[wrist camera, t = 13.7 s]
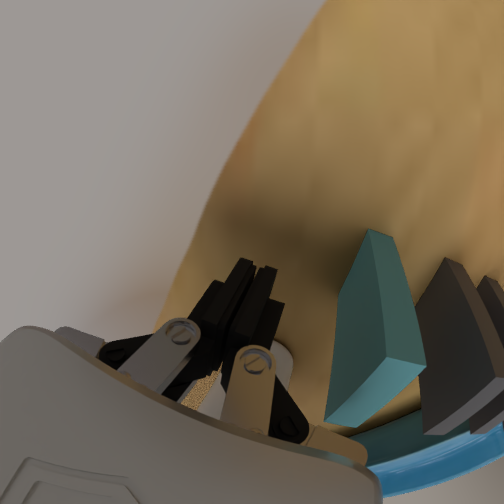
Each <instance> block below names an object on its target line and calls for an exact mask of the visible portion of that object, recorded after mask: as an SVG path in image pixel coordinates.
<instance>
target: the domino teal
mask: <svg viewBox="0 0 504 504" xmlns="http://www.w3.org/2000/svg"><path fill="white" fill-rule="evenodd" d="M426 366H427V365H426V359H425V353H424V348H423V343H422V338H421V333H420V329H419V324H418V320H417V316H416V312H415V308H414V304H413V300H412V296H411V293H410V289H409V286H408V282H407V279H406V276H405V272H404V269H403V266H402V263H401V260H400V257H399V254H398V251H397V248H396V245H395V242H394V240H393V237H390V236H387V235H385V234H382V233H379V232H376V231H374V230H371V229H368V231H367V233H366V235H365V238H364V240H363V242H362V245H361V247H360V249H359V252H358V254H357V256H356V258H355V261H354V263H353V265H352V267H351V269H350V272H349V274H348V276H347V278H346V280H345V282H344V284H343V286H342V288H341V290H340V292H339V294H338V307H337V321H336V333H335V343H334V353H333V361H332V370H331V377H330V385H329V391H328V398H327V404H326V411H325V416H324V422H327V423H332V424H337V425H342V426H348V427H354V428H357V427H358V426H359V425H361V424H362V423H363V422H365V421H366V420H367V419H369V418H370V417H371V416H372V415H374V414H375V413H376V412H377V411H379V410H380V409H381V408H382V407H383V406H385V405H386V404H387V403H388V402H389V401H391V400H392V399H393V398H394V397H395V396H396V395H397V394H398V393H400V392H401V391H402V390H403V389H404V388H405V387H406V386H407V385H408V384H409V383H410V382H411V381H412V380H413V379H414V378H415V377H416V376H417V375H418V374H419V373H420V372H421V371H422V370H423V369H424V368H425V367H426Z"/></svg>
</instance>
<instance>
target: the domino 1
mask: <svg viewBox="0 0 504 504" xmlns="http://www.w3.org/2000/svg"><path fill="white" fill-rule="evenodd" d="M414 308H415V312H416V316H417V320H418V324H419V329H420V333H421V338H422V343H423V348H424V353H425V359H426V365H427V366H426V367H425V368H424V369H423V370H422V371H421V372H420V373H419V374H418V376H419V385H420V395H421V407H422V425H423V434H425V435H445V434H446V433H448V432H449V431H451V430H453V429H454V428H455V427H457V426H458V425H460V424H461V423H463V422H464V421H465V420H467V419H468V418H470V417H471V416H472V415H474V414H475V413H476V412H478V411H479V410H480V409H481V408H483V407H484V406H485V405H486V404H488V403H489V402H490V401H491V400H492V399H494V398H495V397H496V396H497V395H498V394H499V393H500V392H502V391H503V390H504V348H503V346H502V343H501V341H500V338H499V336H498V334H497V331H496V329H495V327H494V324H493V322H492V320H491V318H490V316H489V313H488V311H487V309H486V307H485V305H484V303H483V301H482V299H481V297H480V295H479V294H478V292H477V290H476V288H475V286H474V284H473V282H472V281H471V279H470V277H469V275H468V274H467V272H466V270H465V269H464V267H463V265H461V264H459V263H457V262H454V261H452V260H450V259H448V258H444V260H443V262H442V264H441V265H440V267H439V269H438V271H437V272H436V274H435V276H434V277H433V279H432V281H431V282H430V284H429V286H428V287H427V289H426V290H425V292H424V293H423V295H422V297H421V298H420V300H419V301H418V303H417V304H416V306H415V307H414Z"/></svg>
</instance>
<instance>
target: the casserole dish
mask: <svg viewBox="0 0 504 504" xmlns="http://www.w3.org/2000/svg"><path fill="white" fill-rule="evenodd" d="M348 438H349V439H351V440H354V441H356V442H359V443H360V444H362V445H363V446H364V447H365V448H366V450H367V454H368V457H367V462H366V464H365V467H367V468H368V469H369V470H371V471H372V472H373V473H374V474H375V475H376V476H377V477H378V478H379V480H380V482H381V485H382V491H383V498H386V497H391V496H396V495H400V494H405V493H409V492H413V491H416V490H420V489H423V488H427V487H431V486H433V485H437V484H440V483H443V482H446V481H449V480H452V479H454V478H457V477H459V476H462V475H465V474H467V473H470V472H472V471H474V470H476V469H479V468H481V467H483V466H485V465H487V464H489V463H491V462H493V461H495V460H497V459H499V458H500V457H502V456H504V431H503V424H502V422H501V423H500V424H498V425H497V426H496V427H494V428H493V429H491V430H490V431H488V432H487V433H486V434H474V435H470V426H469V418H468V419H467V420H465V421H464V422H463V423H461V424H460V425H458V426H457V427H455V428H454V429H453V430H451V431H449V432H448V433H446V434H445V435H425V434H423V425H422V409H419V410H417V411H415V412H413V413H411V414H408V415H406V416H404V417H401V418H399V419H397V420H394V421H392V422H389V423H387V424H385V425H383V426H379V427H377V428H374V429H371V430H368V431H366V432H363V433H360V434H357V435H354V436H351V437H348Z"/></svg>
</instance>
